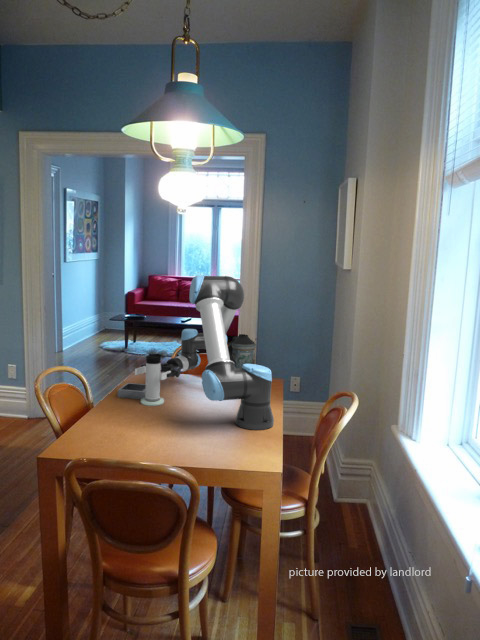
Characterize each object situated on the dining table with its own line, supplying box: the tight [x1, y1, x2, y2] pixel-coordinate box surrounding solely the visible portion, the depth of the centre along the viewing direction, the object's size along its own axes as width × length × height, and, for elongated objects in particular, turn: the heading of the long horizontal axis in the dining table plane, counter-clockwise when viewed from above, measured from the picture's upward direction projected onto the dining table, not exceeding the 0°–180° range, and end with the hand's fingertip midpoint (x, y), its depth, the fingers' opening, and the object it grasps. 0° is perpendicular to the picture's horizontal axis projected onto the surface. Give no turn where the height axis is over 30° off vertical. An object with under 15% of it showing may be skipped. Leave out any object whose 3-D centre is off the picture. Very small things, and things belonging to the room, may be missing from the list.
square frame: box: [117, 382, 146, 400], centre depth 229 cm, size 12×12×4 cm
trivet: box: [140, 396, 165, 407], centre depth 219 cm, size 10×10×1 cm
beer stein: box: [227, 333, 257, 369], centre depth 256 cm, size 16×19×25 cm
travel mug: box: [145, 353, 162, 402], centre depth 218 cm, size 6×7×20 cm
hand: (148, 374), depth 215 cm, fingers open, 13 cm apart
